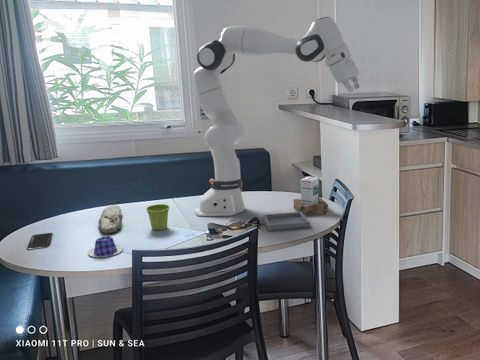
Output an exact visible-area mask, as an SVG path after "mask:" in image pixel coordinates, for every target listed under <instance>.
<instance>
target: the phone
mask: <svg viewBox="0 0 480 360" xmlns="http://www.w3.org/2000/svg"><path fill="white" fill-rule="evenodd" d="M53 234H54V233H53V232H47V233H39V234H32V235H31V237H30V240H29V242H28V243H27V246H26V248H27V249H28V248H36V247H37V248H38V247H45V248H48V247H47V246H49V247H51V244H52V240H53V237H54V235H53ZM52 236H53V237H52ZM38 249H39V248H38Z"/></svg>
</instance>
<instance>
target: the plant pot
mask: <svg viewBox="0 0 480 360" xmlns="http://www.w3.org/2000/svg"><path fill="white" fill-rule="evenodd" d="M170 207H171V206H170V205H168V204H165V203H164V204H163V203H160V204H157V203H156V204H152V205H149V206H147V207H145V210H146V211H147V214H148V217H149V223H150V226H151V229H152V230H154V231H159V230H160V231H163V230H166V229H167V228H168V218H169V211H170Z"/></svg>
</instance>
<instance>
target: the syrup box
mask: <svg viewBox="0 0 480 360" xmlns="http://www.w3.org/2000/svg"><path fill="white" fill-rule="evenodd" d="M319 181H320V180H319V177H316V176H306V177H304V178H302V179H300V199H301V203H302V204H303V205H312V204H319V197H320V192H319V191H320V188H319V183H320V182H319Z"/></svg>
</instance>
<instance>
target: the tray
mask: <svg viewBox="0 0 480 360" xmlns="http://www.w3.org/2000/svg"><path fill="white" fill-rule="evenodd" d="M262 222H263V223H264V226H265V227H266V229H267V231H268V232H280V231H292V230H303V229H310V226H311V225H310V224H311V223H310V221H309V220H308V218H307V217H306V216H304V215H303V213H302V212H296V211H293V212H282V213H281V212H279V213H268V214H267V213H266V214H262Z"/></svg>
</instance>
